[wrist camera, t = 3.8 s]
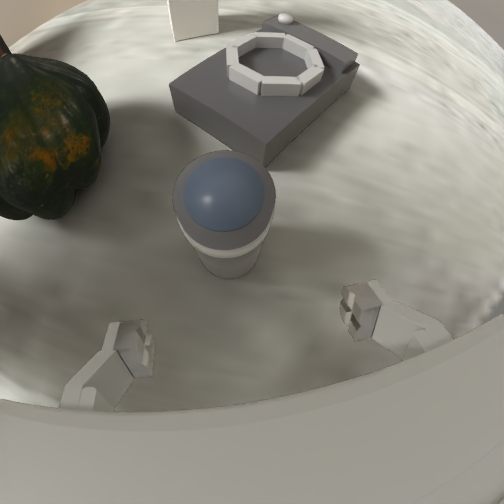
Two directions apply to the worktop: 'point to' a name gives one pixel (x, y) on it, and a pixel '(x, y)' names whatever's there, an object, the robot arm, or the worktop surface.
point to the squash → (47, 135)
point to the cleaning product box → (3, 47)
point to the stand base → (265, 87)
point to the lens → (225, 210)
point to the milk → (193, 18)
